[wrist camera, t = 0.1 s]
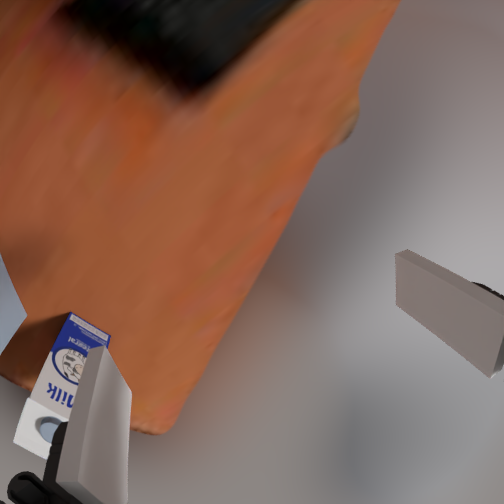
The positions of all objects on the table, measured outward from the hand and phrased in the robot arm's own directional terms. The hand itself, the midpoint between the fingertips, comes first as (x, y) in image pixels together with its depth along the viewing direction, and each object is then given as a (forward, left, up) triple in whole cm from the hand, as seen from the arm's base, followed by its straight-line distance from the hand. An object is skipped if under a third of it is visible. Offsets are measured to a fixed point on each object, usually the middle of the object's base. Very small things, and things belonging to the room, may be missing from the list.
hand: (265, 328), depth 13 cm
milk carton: (+13, -22, -28) cm, 38 cm away
